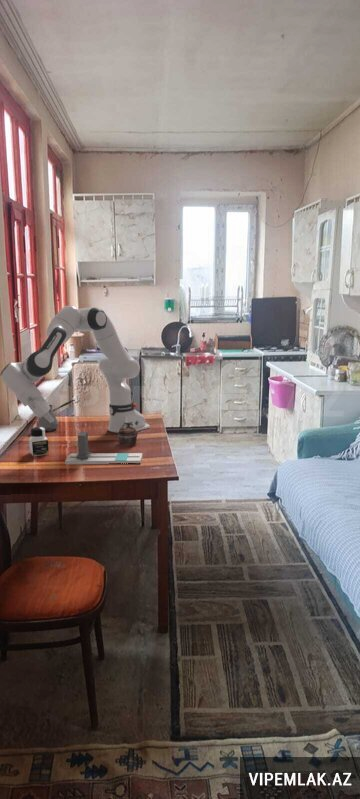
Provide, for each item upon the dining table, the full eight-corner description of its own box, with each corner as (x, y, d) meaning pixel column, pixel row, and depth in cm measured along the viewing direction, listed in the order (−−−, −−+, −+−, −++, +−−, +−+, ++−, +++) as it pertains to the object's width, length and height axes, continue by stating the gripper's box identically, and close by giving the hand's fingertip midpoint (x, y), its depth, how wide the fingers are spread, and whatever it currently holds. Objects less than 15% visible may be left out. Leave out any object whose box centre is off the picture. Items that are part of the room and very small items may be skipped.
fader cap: (76, 458, 211) (75, 436, 209) (79, 453, 218) (78, 431, 216) (88, 458, 211) (86, 435, 209) (91, 453, 218) (90, 431, 216)
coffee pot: (39, 433, 259) (37, 405, 256) (35, 428, 269) (33, 401, 266) (79, 428, 267) (78, 401, 264) (74, 423, 278) (73, 397, 275)
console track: (65, 464, 210) (65, 460, 210) (70, 456, 220) (70, 453, 219) (140, 463, 209) (140, 460, 209) (142, 456, 219) (142, 452, 219)
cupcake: (116, 441, 242) (115, 421, 240) (135, 439, 245) (134, 419, 243) (120, 447, 233) (119, 426, 231) (140, 444, 237) (139, 424, 234)
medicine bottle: (33, 456, 220) (31, 430, 218) (29, 452, 226) (27, 427, 224) (49, 454, 223) (47, 428, 221) (45, 450, 230) (43, 425, 227)
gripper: (33, 394, 199) (56, 420, 201) (39, 390, 219) (60, 413, 221) (20, 404, 198) (43, 430, 201) (28, 399, 219) (49, 423, 221)
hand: (52, 421), depth 211 cm, fingers closed
